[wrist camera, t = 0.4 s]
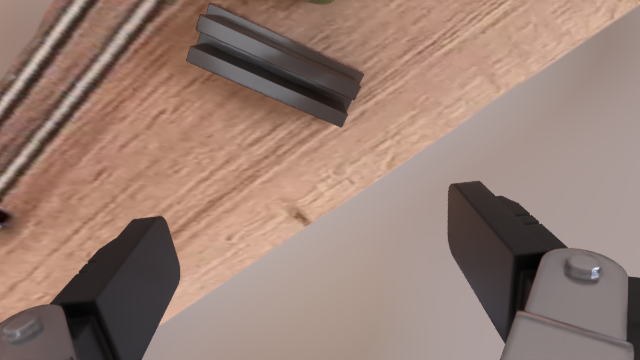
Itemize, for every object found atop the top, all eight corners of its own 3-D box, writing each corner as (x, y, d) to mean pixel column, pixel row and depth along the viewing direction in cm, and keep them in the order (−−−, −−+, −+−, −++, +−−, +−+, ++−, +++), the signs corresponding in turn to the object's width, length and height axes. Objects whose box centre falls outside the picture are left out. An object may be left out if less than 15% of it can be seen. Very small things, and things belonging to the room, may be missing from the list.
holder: (213, 3, 33) (196, 1, 28) (362, 71, 35) (371, 80, 30) (195, 60, 35) (176, 67, 30) (339, 121, 37) (343, 137, 32)
